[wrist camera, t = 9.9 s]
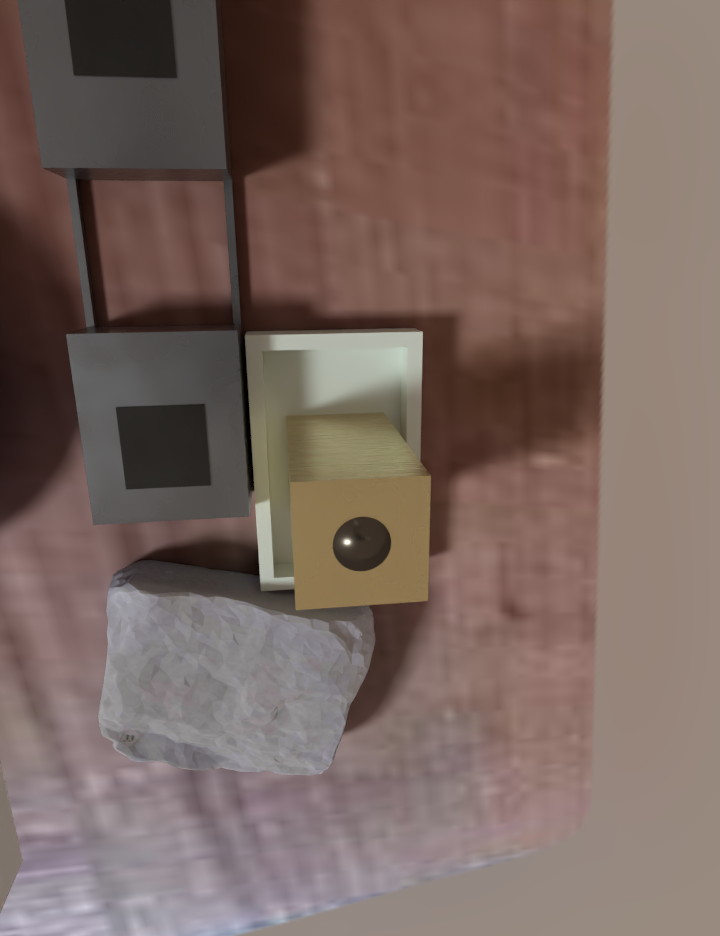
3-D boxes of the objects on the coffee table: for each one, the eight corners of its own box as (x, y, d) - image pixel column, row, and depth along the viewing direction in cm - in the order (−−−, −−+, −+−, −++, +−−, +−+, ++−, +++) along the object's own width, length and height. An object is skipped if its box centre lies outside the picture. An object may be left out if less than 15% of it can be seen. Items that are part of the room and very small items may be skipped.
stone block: (336, 718, 35) (379, 574, 30) (337, 800, 31) (387, 647, 26) (113, 690, 33) (122, 534, 29) (81, 773, 29) (87, 605, 24)
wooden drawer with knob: (285, 415, 27) (290, 482, 19) (383, 412, 28) (431, 476, 19) (289, 508, 28) (295, 610, 20) (383, 503, 29) (427, 601, 20)
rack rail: (38, -54, 22) (2, -104, 19) (218, -45, 22) (209, -93, 20) (112, 498, 28) (93, 525, 25) (252, 491, 28) (249, 517, 25)
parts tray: (246, 331, 26) (244, 335, 25) (413, 327, 27) (422, 331, 25) (261, 573, 30) (260, 591, 28) (410, 563, 30) (418, 580, 29)
